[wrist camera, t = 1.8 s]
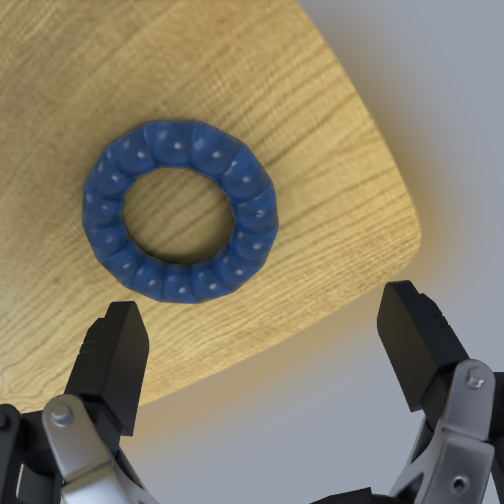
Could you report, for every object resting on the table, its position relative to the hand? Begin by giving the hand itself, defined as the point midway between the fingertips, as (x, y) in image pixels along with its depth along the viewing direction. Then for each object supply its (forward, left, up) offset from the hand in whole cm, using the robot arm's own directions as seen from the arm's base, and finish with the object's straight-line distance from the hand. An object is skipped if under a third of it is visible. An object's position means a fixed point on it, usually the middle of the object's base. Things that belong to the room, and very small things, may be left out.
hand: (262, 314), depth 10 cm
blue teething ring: (+3, -2, -7) cm, 8 cm away
